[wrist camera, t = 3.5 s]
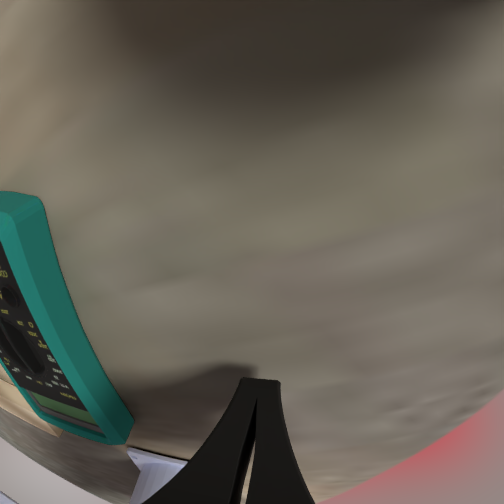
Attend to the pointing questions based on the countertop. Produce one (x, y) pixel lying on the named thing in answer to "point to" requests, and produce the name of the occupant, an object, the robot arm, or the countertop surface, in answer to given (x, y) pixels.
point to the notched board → (23, 408)
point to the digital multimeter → (50, 332)
